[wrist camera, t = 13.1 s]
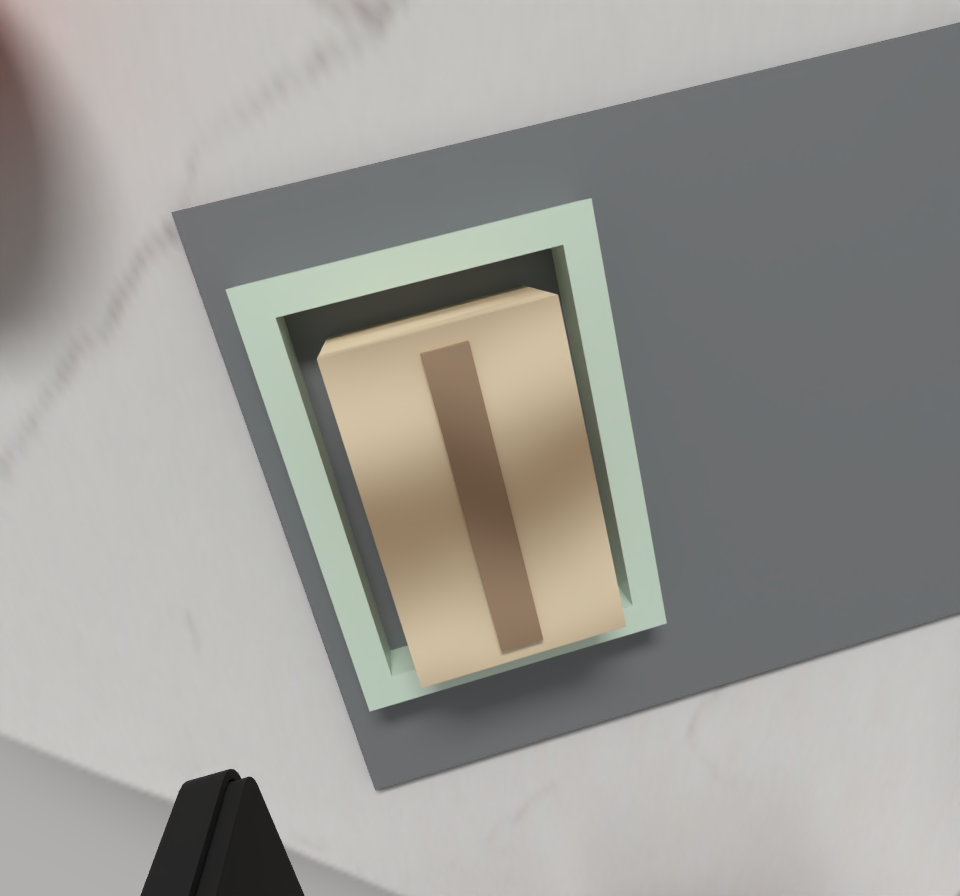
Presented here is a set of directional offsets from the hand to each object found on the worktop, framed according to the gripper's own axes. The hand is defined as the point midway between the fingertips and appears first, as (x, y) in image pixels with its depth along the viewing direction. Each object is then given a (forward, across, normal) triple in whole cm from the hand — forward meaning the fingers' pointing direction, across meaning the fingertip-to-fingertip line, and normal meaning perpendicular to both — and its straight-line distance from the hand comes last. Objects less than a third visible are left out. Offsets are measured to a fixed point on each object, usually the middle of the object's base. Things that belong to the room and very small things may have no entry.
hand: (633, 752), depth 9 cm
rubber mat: (+14, -5, +1) cm, 15 cm away
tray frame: (+14, +1, 0) cm, 14 cm away
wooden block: (+14, +1, 0) cm, 14 cm away
